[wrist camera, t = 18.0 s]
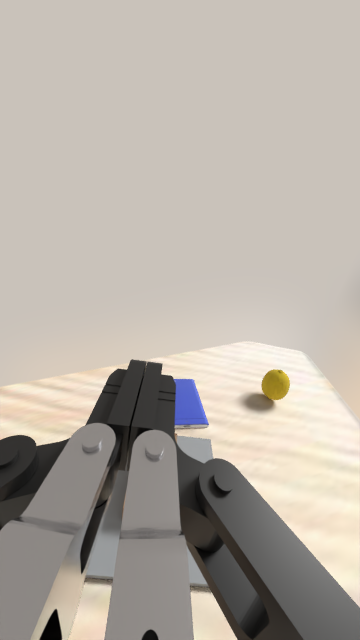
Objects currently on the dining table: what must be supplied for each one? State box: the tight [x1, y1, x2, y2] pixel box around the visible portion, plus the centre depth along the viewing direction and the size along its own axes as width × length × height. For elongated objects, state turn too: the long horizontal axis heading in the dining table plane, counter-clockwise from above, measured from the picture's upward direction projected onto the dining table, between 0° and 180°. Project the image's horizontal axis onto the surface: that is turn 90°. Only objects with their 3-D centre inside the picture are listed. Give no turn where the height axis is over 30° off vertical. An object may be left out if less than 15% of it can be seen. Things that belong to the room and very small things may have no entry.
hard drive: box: [174, 379, 209, 428], centre depth 43 cm, size 2×8×12 cm
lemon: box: [262, 370, 290, 400], centre depth 47 cm, size 6×6×8 cm
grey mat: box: [85, 436, 213, 587], centre depth 28 cm, size 18×16×1 cm
